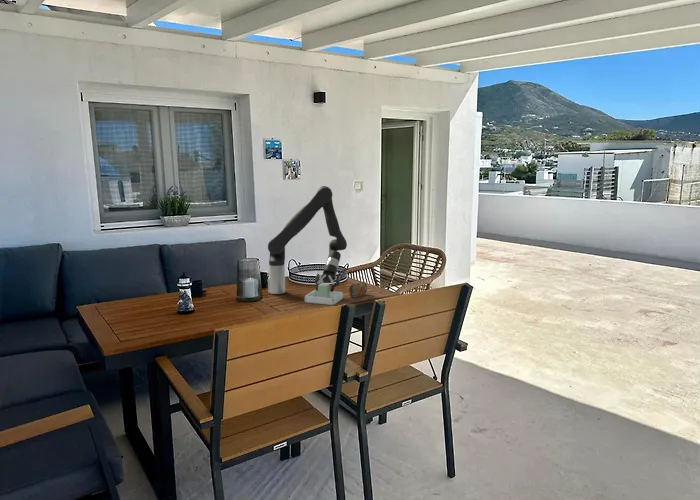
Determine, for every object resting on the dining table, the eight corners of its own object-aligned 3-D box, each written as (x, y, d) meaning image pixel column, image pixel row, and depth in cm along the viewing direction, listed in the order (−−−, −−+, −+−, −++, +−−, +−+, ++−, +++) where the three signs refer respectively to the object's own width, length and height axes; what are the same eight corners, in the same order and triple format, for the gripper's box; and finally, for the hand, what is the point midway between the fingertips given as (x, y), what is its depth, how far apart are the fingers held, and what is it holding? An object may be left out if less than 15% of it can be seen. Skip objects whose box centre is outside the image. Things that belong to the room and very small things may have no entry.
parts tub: (304, 303, 268) (304, 296, 267) (315, 296, 282) (315, 289, 281) (333, 305, 262) (333, 298, 262) (342, 299, 276) (342, 292, 276)
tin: (352, 299, 275) (352, 285, 274) (348, 298, 277) (348, 284, 276) (367, 294, 287) (367, 280, 286) (363, 293, 289) (363, 280, 288)
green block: (318, 300, 270) (318, 285, 269) (321, 298, 275) (321, 283, 274) (326, 301, 269) (326, 285, 267) (329, 299, 274) (329, 283, 272)
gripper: (318, 262, 280) (310, 286, 271) (341, 264, 275) (334, 288, 266) (321, 270, 285) (314, 293, 276) (344, 271, 281) (337, 295, 272)
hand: (324, 290), depth 271 cm, fingers open, 8 cm apart
